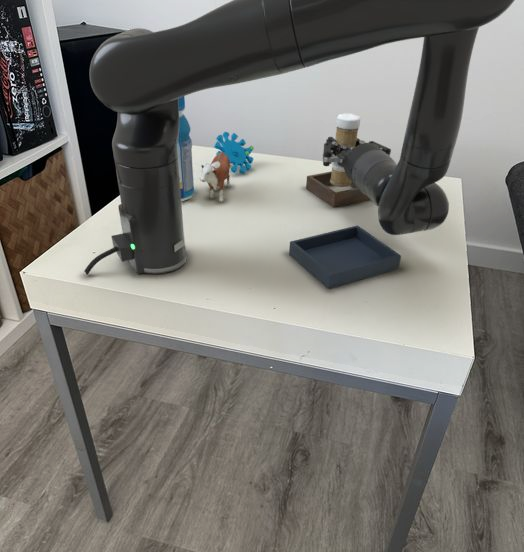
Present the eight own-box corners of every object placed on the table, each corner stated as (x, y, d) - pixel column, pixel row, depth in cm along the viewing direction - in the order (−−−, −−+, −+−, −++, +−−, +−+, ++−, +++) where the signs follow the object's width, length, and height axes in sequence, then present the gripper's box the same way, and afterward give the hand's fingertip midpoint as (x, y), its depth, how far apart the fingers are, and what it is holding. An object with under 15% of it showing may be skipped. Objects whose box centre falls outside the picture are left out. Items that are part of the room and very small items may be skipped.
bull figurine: (197, 207, 104) (195, 167, 99) (216, 182, 114) (215, 144, 109) (219, 210, 104) (217, 169, 98) (236, 184, 114) (235, 146, 109)
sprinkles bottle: (355, 185, 109) (365, 117, 101) (338, 189, 107) (347, 120, 99) (341, 178, 112) (350, 111, 104) (324, 181, 110) (332, 114, 102)
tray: (328, 288, 82) (329, 275, 81) (289, 254, 91) (289, 241, 89) (398, 268, 88) (401, 255, 86) (355, 237, 96) (357, 225, 94)
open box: (333, 207, 106) (334, 194, 104) (305, 188, 113) (306, 175, 111) (375, 198, 110) (377, 185, 108) (346, 180, 117) (347, 168, 115)
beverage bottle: (202, 197, 108) (196, 93, 95) (165, 206, 104) (154, 99, 91) (183, 184, 113) (175, 83, 101) (147, 192, 110) (134, 88, 97)
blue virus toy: (229, 173, 114) (210, 131, 114) (215, 186, 119) (197, 146, 119) (264, 167, 121) (247, 128, 121) (250, 180, 126) (233, 142, 126)
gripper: (413, 148, 93) (375, 120, 106) (337, 152, 90) (308, 123, 103) (404, 189, 98) (369, 157, 111) (332, 194, 95) (305, 161, 108)
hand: (340, 141), depth 107 cm, fingers closed on sprinkles bottle, 4 cm apart
